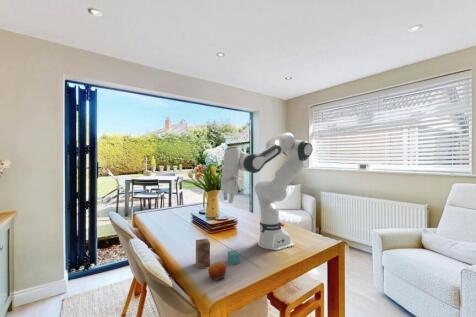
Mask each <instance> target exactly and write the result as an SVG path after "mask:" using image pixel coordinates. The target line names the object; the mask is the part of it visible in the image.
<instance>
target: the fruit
mask: <svg viewBox="0 0 476 317" xmlns="http://www.w3.org/2000/svg"><path fill="white" fill-rule="evenodd" d="M226 272H227V265H226V264H225V262H224V261H223V262H222V261H217V262H213V263H212V264H210V267H208V275H209V277H210V279H211V280H214V281H216V282H218V280H220V279H224V280H225V275H226Z"/></svg>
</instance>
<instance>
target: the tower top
mask: <svg viewBox="0 0 476 317" xmlns="http://www.w3.org/2000/svg"><path fill="white" fill-rule="evenodd" d="M196 253H197V256H205V255H210V256H211V242H210V241H209V239H208V238H201V239H195V254H196Z"/></svg>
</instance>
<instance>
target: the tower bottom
mask: <svg viewBox="0 0 476 317" xmlns="http://www.w3.org/2000/svg"><path fill="white" fill-rule="evenodd" d="M195 265H196V267H197V270H199V269H205V268H209V267H210V266H211V254H210V255H205V256H197V253H196V252H195Z"/></svg>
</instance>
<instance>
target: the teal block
mask: <svg viewBox="0 0 476 317" xmlns="http://www.w3.org/2000/svg"><path fill="white" fill-rule="evenodd" d="M227 260H228V262H229V263H228V264H230V265H237V264H241V252H239V250H237V249H233V250H228V251H227Z"/></svg>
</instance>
